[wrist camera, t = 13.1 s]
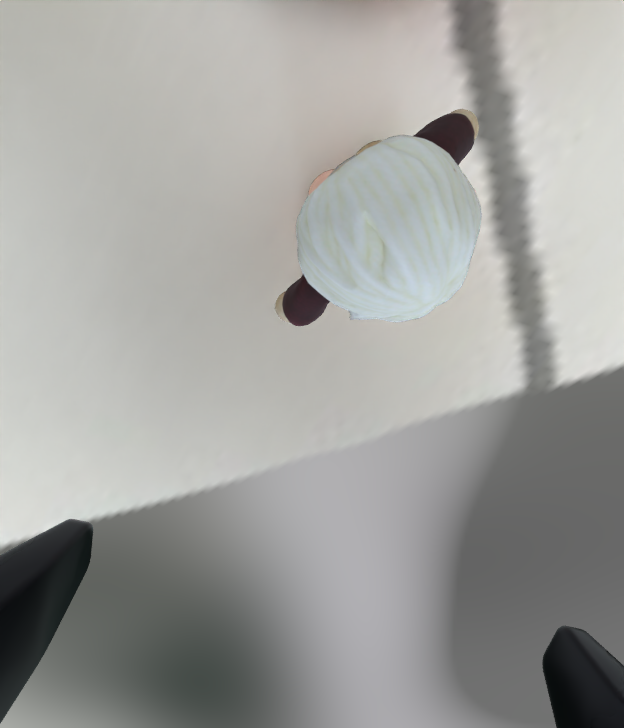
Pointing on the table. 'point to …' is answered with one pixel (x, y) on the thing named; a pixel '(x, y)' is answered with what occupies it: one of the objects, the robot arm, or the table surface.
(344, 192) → the grandmother figurine
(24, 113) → the table surface
